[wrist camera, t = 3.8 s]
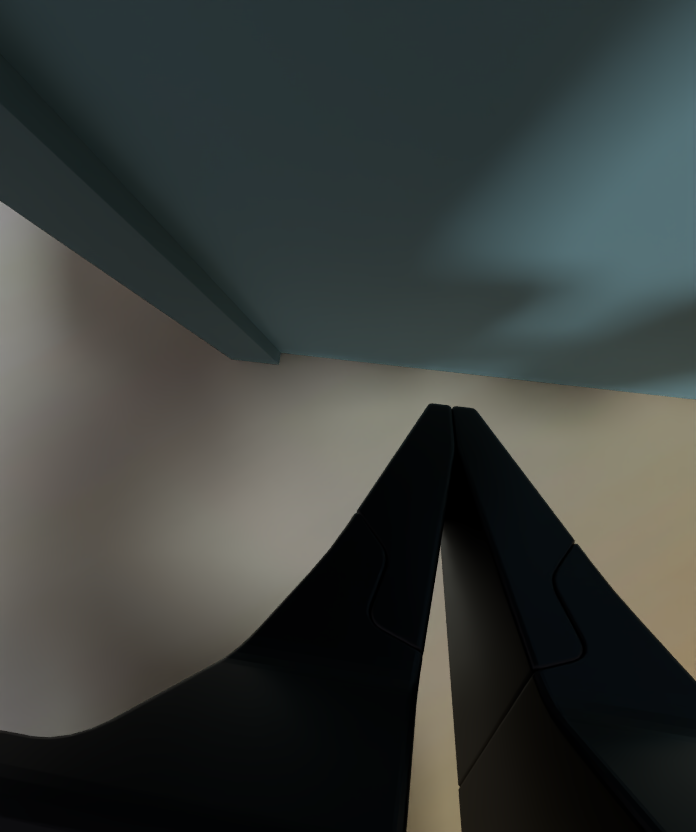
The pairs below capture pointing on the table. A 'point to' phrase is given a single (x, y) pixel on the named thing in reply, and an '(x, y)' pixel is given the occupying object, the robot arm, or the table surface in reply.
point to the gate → (375, 175)
